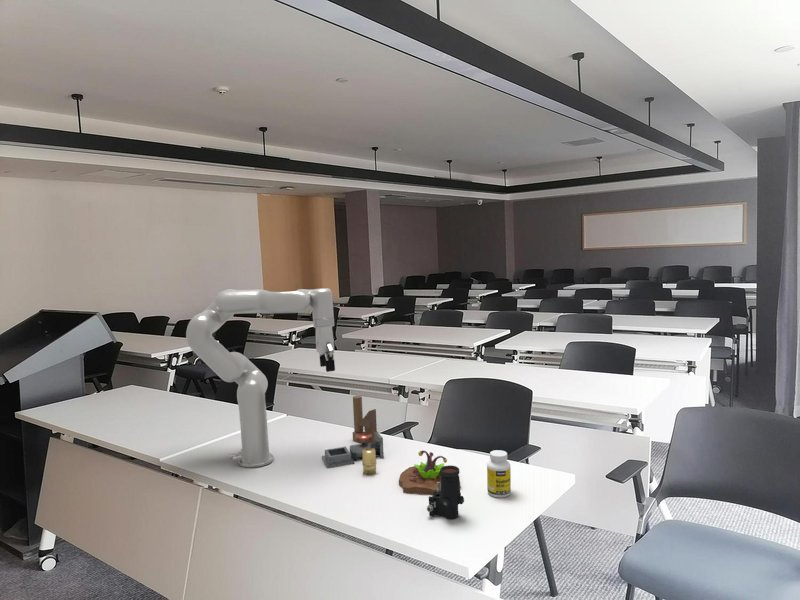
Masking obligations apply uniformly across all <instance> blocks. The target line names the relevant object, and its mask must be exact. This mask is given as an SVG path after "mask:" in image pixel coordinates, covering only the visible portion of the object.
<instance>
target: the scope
mask: <svg viewBox="0 0 800 600" xmlns="http://www.w3.org/2000/svg"><path fill="white" fill-rule="evenodd" d="M440 474H441V487H440V482H437V490H435V491H434V492H433V495H431V496H430V495H429V496H428V505H427V507H426V510H427V512H429V513H428V514H429V516H430V517H435V516H438V517H442V518H445V519H447V520H456V519H458V518H459V505H463V504H464V502H465V497H464V496H463V495H462V494H461V493H462V492H461V481H459V480H460V468H459V467H458V466H456V465H444V467H442V468H441V469H440ZM440 488H441V489H440ZM440 490H441V491H440Z"/></svg>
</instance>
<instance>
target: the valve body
mask: <svg viewBox="0 0 800 600" xmlns="http://www.w3.org/2000/svg"><path fill="white" fill-rule="evenodd" d="M371 438H372V434H370V433H359V434H357V435H356V439H357V440H362V443H359V444H351V445H349V449H348V448H347V446H341V447H340V446H339V447H336V448H328V449H324V455H322V456H321V459H322V462H323V464H324V465H325V468H326V469H331V468H337V467H344V466H350V465H355V463H356V462H355V460H358V459H363V453H362V450H364V449H366V448H373V449H375V454H376V457H377V456H378V457H379V458H380V459H384V457H385V455H384V454H385V453H384V438H383V436H382V435H381V434H380V433H379V432H378V431H377V432H374V439H375V442H370V443H366V440H369V439H371Z"/></svg>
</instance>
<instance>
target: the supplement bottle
mask: <svg viewBox="0 0 800 600" xmlns="http://www.w3.org/2000/svg"><path fill="white" fill-rule="evenodd" d="M489 459H490V460H488V462H487V463H486V477H487V479H486V481H487V482H486V483H487V484H486V485H487V489H486V490H487V494H488V495H489V496H491V497H494V498H506V497H508V496H510V495H511V491H512V489H511V487H512V485H511V481H512V480H511V470H512V469H511V463H510V462H509V461H508V452H507V451H505V450H500V449H499V450H498V449H496V450H495V449H494V450H492V451H490V452H489Z"/></svg>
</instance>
